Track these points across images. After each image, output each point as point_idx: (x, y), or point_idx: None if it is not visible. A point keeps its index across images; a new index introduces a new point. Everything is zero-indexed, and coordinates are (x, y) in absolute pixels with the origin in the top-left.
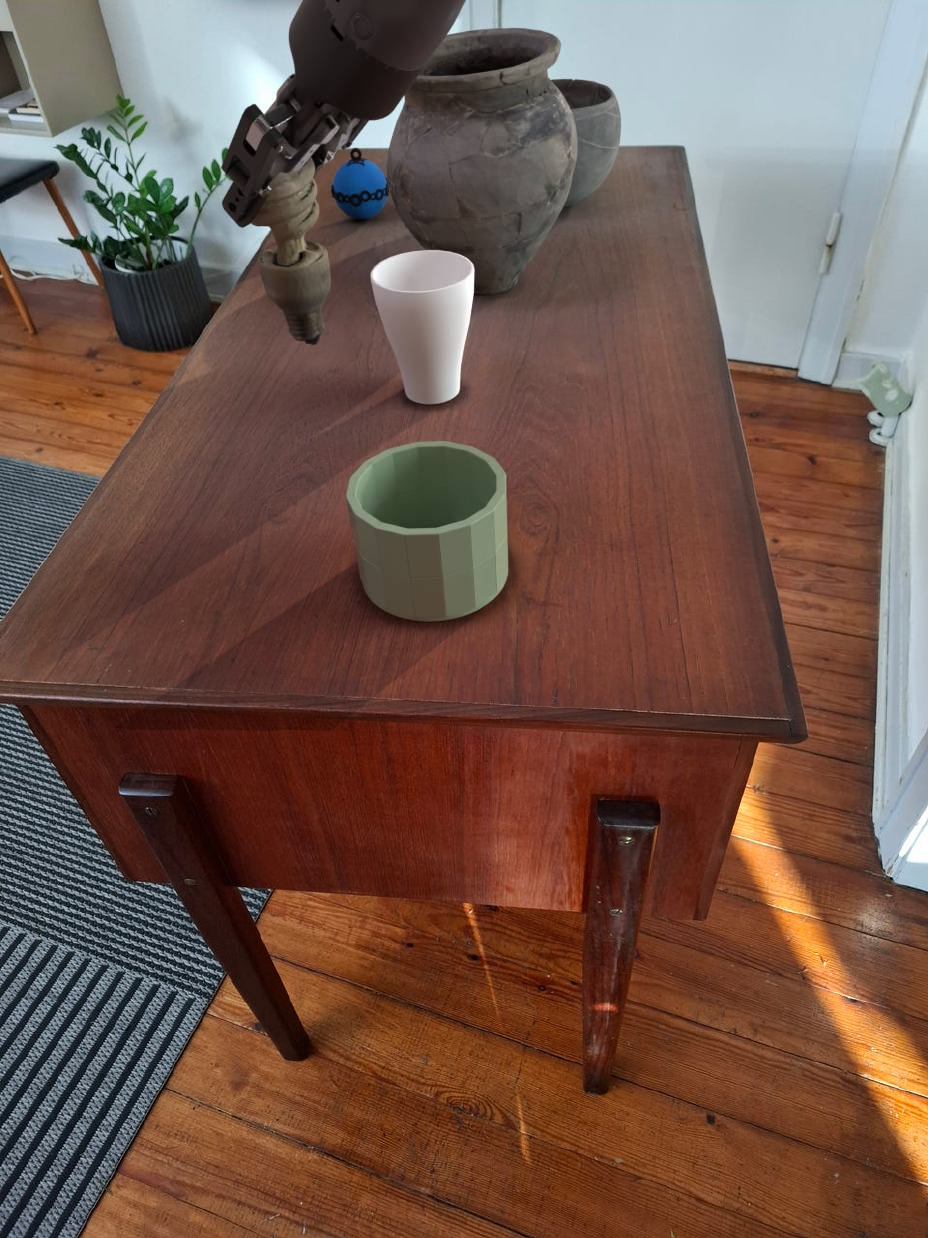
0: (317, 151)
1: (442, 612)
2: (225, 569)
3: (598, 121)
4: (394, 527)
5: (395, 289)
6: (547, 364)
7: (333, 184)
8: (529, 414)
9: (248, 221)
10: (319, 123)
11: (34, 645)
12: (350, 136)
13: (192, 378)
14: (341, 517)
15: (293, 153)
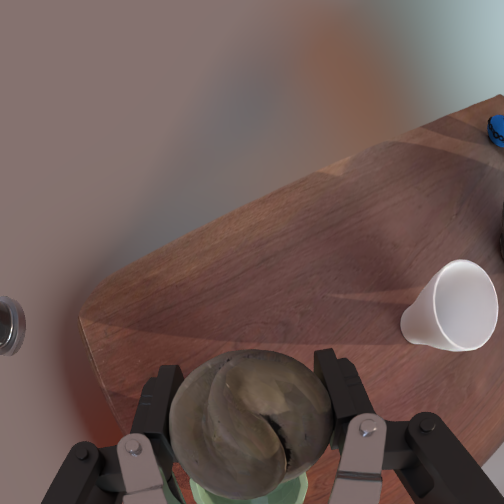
0: (341, 455)
1: None
2: (182, 351)
3: None
4: (196, 492)
5: (453, 273)
6: (475, 362)
7: (491, 118)
8: (427, 400)
9: None
10: None
11: (95, 303)
12: (402, 482)
13: (326, 173)
14: None
15: (238, 496)
